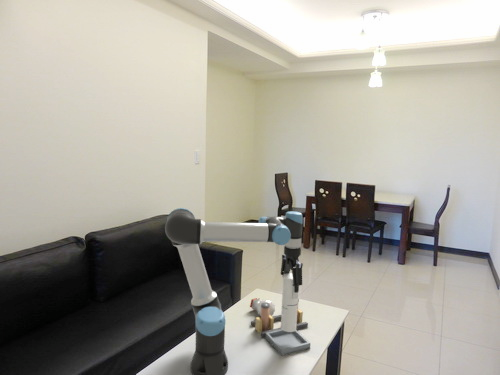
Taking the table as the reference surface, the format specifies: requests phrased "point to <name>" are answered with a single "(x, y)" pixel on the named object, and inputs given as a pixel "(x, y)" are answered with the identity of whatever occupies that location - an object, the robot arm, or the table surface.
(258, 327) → the fuse holder
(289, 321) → the cylindrical container
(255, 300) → the potion bottle
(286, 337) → the tray
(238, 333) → the table surface
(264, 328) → the cylinder
